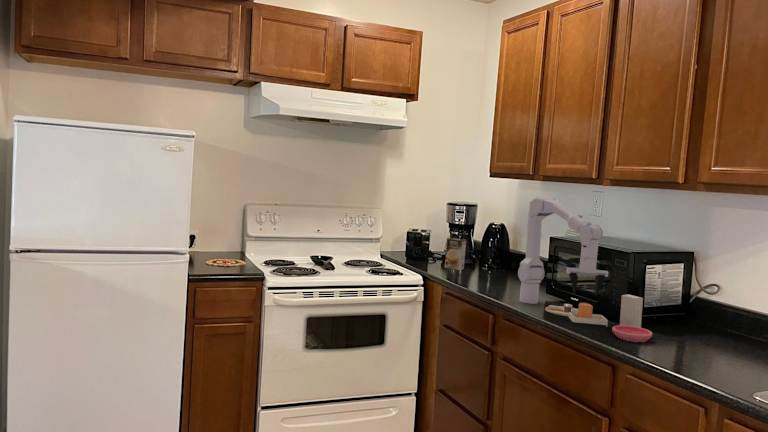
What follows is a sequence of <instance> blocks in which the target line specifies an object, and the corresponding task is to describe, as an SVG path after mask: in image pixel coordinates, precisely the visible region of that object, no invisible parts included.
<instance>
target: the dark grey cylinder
mask: <svg viewBox="0 0 768 432" xmlns="http://www.w3.org/2000/svg"><path fill="white" fill-rule="evenodd" d="M581 303H582V304H589V303H587V302H581ZM548 307H549V308H551V309H557V310H563V307H567V308H573V304H570V303H563V306H562V307H560V306H559V305H552V304H549V305H548ZM577 309H578V308H576V309H572V312H575V313H578V310H577Z"/></svg>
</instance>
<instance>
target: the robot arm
mask: <svg viewBox="0 0 768 432" xmlns="http://www.w3.org/2000/svg"><path fill="white" fill-rule="evenodd" d="M554 214H555V215H557V216H559V217H560V218H561V219H562V220H564V221H566V222H567V225H568V227H569V228H570V229H572V230H573V231H575V232H576V233H577V234H578V235H579V238H580V244H581V247H580V248H581V249H580V258H579V259H580V260H579V267H566V271H565V272H566V274H568V277H569V279H570V282H571V287H572V293H573V294H574V295H576V294H577V289H578V288H577V286H578V280H579V276H578V275H584V276H594V277H595V278H594V282H595V283H594V290H593V291H594V292H593V295H594V296H598V294H599V292H600V289H601V287H602V285H603V283H604V282H605V281H606V278H608V277H609V271H608V270H601V269H597V262H598V261H597V260H598V251H599V241H600V240H602V238H603V235H604V231H603V229H602V227H601V226H600V225H598V224H593V223H592V221H591V220H590V221H588V220H587V219H586V218H584V215H583V214H581V213H580V214H578V213H575V214H573V213H572V212H571V211H570V210H569V209H568V208H566V207H565V206H564V205H563V204H561V202H560V201H559V200H558V199H556V197H555V198H554V197H549V198H548V197H539V196H538V197H537V196H536V197H534V198H533V199H532V200H531V201H529V211H528V214H527V225H526V226H527V227H526V228H527V229H526V246H525V258H523V260H521V262H519V268H518V270H517V276H518V278H519V281H520V283H521V284H520V291H519V292H520V293H519V302H521V303H524V304H531V305H535V304H538V303H539V294H540V293H539V291H540V283H542V281H543V280H544V278H545V274H546V273H545V272H546V271H545V269H544V263H543V261H542V260H541V259H540V255H541V239H542V236H541V235H542V221H543V220H544V219H545V218H546V217H549V216H551V215H554Z"/></svg>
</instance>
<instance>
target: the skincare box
mask: <svg viewBox="0 0 768 432" xmlns="http://www.w3.org/2000/svg"><path fill="white" fill-rule="evenodd" d="M620 298H621V301H620V312H619V313H620V316H619V325H627V326H635V327H640V328H642V317H643V315H642V314H643V306H644V305H643V302H644V297H640V296H638V295H637V296H636V295H632V294H623V295H621V297H620Z"/></svg>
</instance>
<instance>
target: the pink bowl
mask: <svg viewBox="0 0 768 432" xmlns="http://www.w3.org/2000/svg"><path fill="white" fill-rule="evenodd" d="M611 330H612V332H613V334H614V335H615V337H616V338H617V337H618V338H617V339H619V338H620V339H619V340H622V339H623V341H625V340H626V342H630V341H631V343H638V342H642V343H646V342H647V341H648V340H650V339H651V338H652V337H653V332H652V330H649V329H646V328H643V327H641V328H640V327H635V326H627V325H620V324H619V325H614V326H612V328H611Z"/></svg>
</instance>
